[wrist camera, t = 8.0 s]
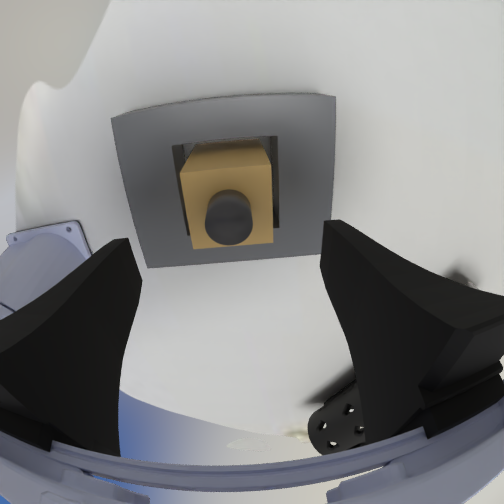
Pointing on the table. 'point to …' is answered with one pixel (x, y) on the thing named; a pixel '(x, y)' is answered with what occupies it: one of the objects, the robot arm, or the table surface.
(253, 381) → the table surface
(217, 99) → the socket housing
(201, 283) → the table surface
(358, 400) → the muzzle brake
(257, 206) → the plug
